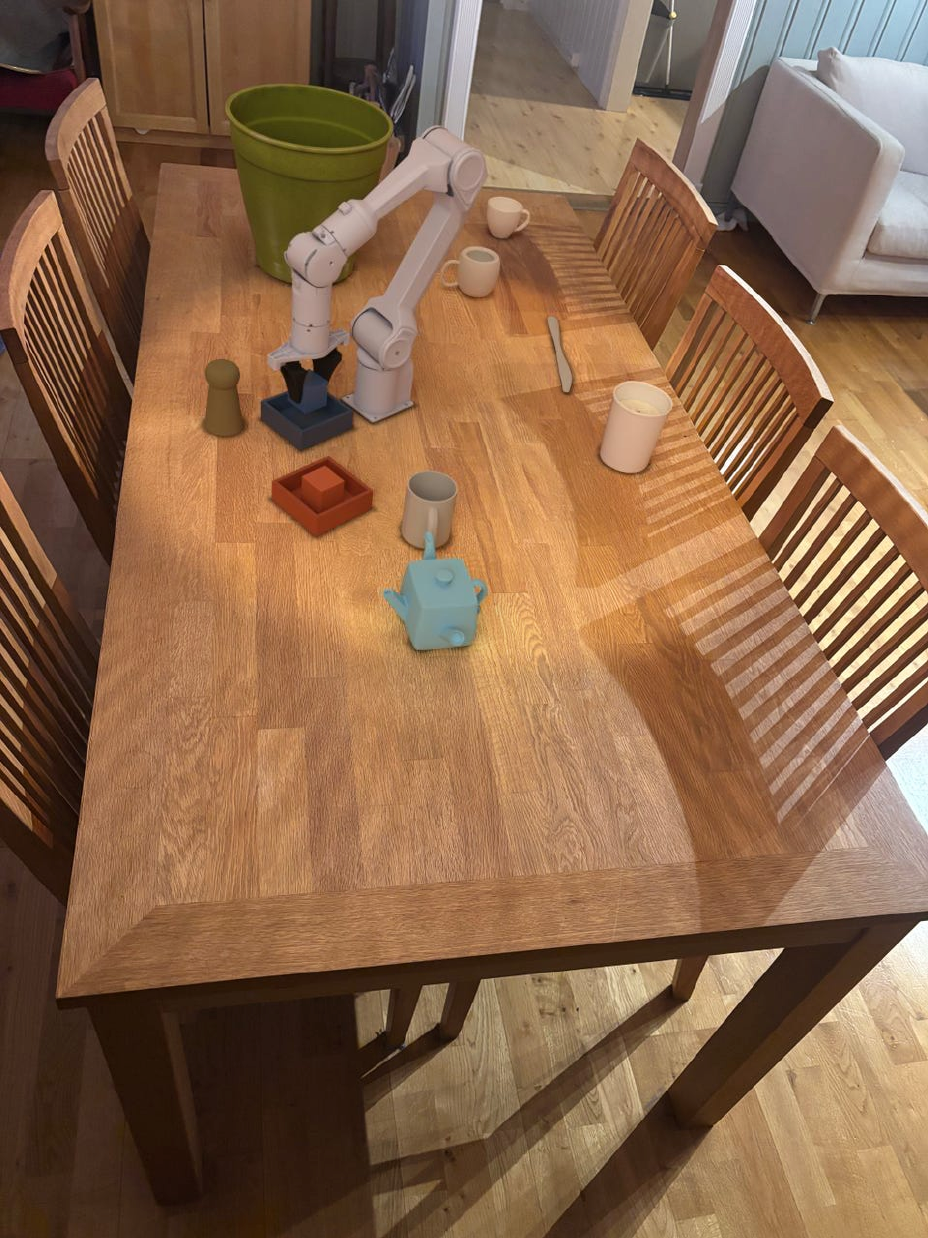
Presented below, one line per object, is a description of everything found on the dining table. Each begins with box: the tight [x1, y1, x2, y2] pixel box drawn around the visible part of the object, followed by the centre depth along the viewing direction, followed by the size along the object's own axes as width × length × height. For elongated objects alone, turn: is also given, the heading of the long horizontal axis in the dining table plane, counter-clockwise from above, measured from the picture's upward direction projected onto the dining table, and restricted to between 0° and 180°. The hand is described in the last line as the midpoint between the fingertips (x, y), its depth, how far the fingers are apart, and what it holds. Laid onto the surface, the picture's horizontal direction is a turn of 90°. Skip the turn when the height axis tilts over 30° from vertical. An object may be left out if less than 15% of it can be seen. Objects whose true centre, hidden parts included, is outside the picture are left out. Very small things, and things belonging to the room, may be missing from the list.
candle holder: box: [599, 380, 674, 474], centre depth 160 cm, size 10×10×12 cm
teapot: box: [381, 532, 489, 651], centre depth 126 cm, size 18×14×10 cm
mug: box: [439, 245, 501, 298], centre depth 194 cm, size 12×8×8 cm
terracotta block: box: [301, 466, 345, 514], centre depth 142 cm, size 4×4×4 cm
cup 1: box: [400, 469, 459, 550], centre depth 139 cm, size 7×10×9 cm
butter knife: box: [547, 315, 573, 393], centre depth 184 cm, size 1×27×3 cm
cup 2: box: [485, 196, 531, 239], centre depth 216 cm, size 8×10×7 cm
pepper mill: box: [203, 358, 244, 437], centre depth 150 cm, size 6×6×11 cm
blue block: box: [287, 368, 329, 414], centre depth 153 cm, size 4×4×4 cm
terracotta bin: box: [271, 455, 374, 537], centre depth 143 cm, size 11×10×4 cm
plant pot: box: [224, 83, 394, 285], centre depth 184 cm, size 30×30×29 cm
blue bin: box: [260, 390, 355, 452], centre depth 156 cm, size 11×10×4 cm
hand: (307, 395), depth 153 cm, fingers closed on blue block, 4 cm apart
